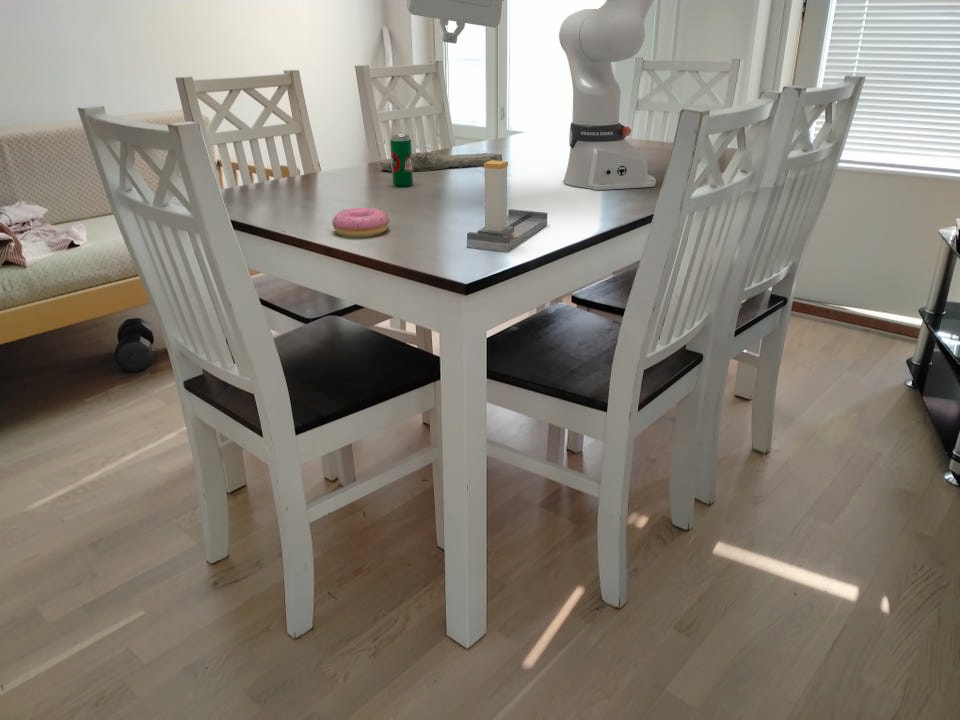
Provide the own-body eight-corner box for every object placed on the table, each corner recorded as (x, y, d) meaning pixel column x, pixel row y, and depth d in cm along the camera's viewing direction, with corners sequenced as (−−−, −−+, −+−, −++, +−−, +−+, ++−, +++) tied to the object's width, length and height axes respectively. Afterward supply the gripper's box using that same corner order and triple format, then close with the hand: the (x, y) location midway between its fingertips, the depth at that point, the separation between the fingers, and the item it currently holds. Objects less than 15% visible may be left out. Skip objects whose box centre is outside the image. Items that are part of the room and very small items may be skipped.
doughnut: (326, 229, 145) (324, 208, 143) (379, 222, 149) (378, 202, 148) (341, 242, 136) (339, 220, 134) (397, 235, 140) (396, 214, 139)
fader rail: (510, 221, 148) (510, 209, 147) (547, 225, 145) (547, 212, 144) (466, 247, 132) (466, 233, 131) (507, 252, 129) (507, 238, 128)
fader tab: (489, 229, 136) (488, 159, 130) (513, 232, 134) (514, 160, 129) (477, 236, 132) (476, 163, 126) (503, 239, 130) (503, 165, 124)
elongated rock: (508, 171, 205) (496, 167, 214) (508, 152, 203) (496, 148, 212) (385, 173, 194) (377, 169, 203) (384, 153, 192) (377, 149, 201)
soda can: (410, 188, 179) (407, 137, 174) (390, 187, 180) (387, 136, 175) (415, 183, 183) (413, 134, 178) (396, 183, 184) (393, 133, 179)
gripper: (503, -23, 157) (490, 44, 165) (410, -40, 151) (401, 31, 159) (511, -16, 152) (497, 53, 160) (415, -33, 146) (406, 39, 154)
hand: (449, 42), depth 160 cm, fingers closed
